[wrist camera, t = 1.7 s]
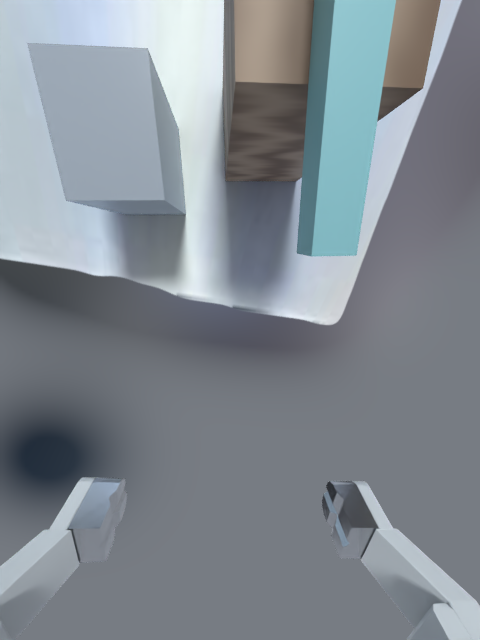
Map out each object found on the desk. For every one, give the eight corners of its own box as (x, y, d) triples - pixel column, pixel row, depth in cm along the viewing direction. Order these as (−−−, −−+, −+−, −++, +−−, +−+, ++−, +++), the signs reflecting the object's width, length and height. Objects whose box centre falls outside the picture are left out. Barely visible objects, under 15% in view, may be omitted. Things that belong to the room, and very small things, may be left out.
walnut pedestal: (225, 181, 38) (235, 81, 14) (222, 88, 34) (229, -289, 10) (295, 181, 39) (422, 88, 15) (301, 91, 35) (490, -249, 10)
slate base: (125, 214, 39) (65, 200, 24) (111, 127, 34) (27, 42, 19) (185, 214, 39) (164, 200, 24) (178, 128, 35) (147, 48, 20)
